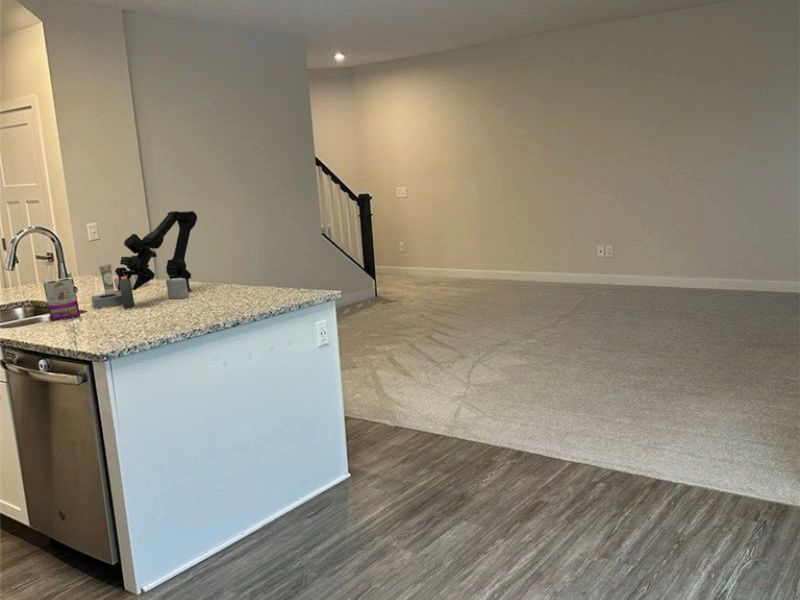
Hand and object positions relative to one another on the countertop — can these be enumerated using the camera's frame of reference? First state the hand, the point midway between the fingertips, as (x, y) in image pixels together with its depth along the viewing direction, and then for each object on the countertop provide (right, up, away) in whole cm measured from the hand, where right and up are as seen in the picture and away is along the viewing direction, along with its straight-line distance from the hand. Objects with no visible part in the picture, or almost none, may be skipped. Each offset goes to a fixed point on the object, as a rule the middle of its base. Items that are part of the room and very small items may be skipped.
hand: (126, 289), depth 296 cm
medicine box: (+18, -4, +15) cm, 23 cm away
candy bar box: (-21, -12, -9) cm, 26 cm away
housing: (-13, -7, +13) cm, 19 cm away
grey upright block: (+1, -8, +2) cm, 8 cm away
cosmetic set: (-20, 0, +51) cm, 55 cm away
